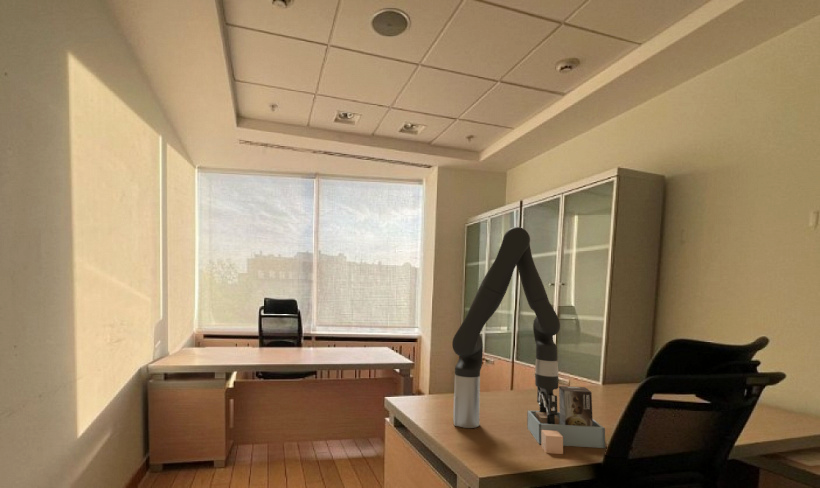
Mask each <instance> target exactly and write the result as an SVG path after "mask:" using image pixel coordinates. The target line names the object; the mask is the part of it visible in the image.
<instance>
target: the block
mask: <svg viewBox="0 0 820 488" xmlns="http://www.w3.org/2000/svg"><path fill="white" fill-rule="evenodd" d="M536 418H537V420H538V421H539V422H540V423H541V424H547V413H545V412H536ZM555 424H558V425H559V418H558V417H557V416H556V415H555Z"/></svg>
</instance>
